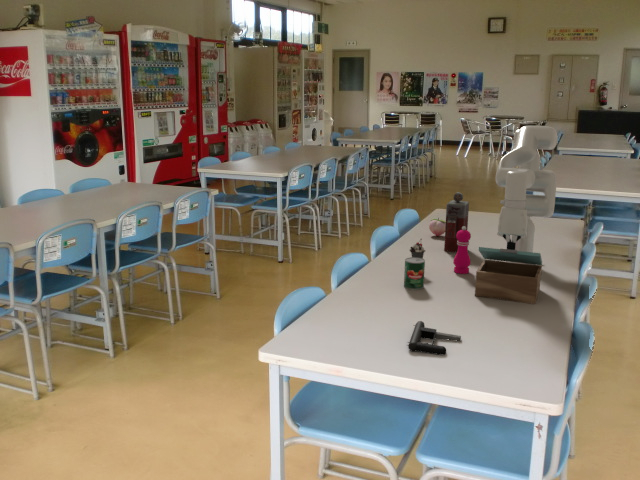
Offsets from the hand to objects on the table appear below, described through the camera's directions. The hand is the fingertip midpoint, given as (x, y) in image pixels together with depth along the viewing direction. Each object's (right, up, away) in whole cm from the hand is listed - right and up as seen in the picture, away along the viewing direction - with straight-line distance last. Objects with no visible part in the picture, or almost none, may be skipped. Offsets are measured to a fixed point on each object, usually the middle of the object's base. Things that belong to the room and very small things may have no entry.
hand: (510, 251), depth 243 cm
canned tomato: (-35, -14, +12) cm, 40 cm away
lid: (0, -2, +2) cm, 3 cm away
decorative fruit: (-10, +6, +94) cm, 95 cm away
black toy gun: (-36, -28, -41) cm, 61 cm away
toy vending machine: (-7, -1, +66) cm, 66 cm away
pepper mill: (-12, -9, +32) cm, 35 cm away
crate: (0, -16, +5) cm, 17 cm away
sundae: (-31, -10, +29) cm, 44 cm away
